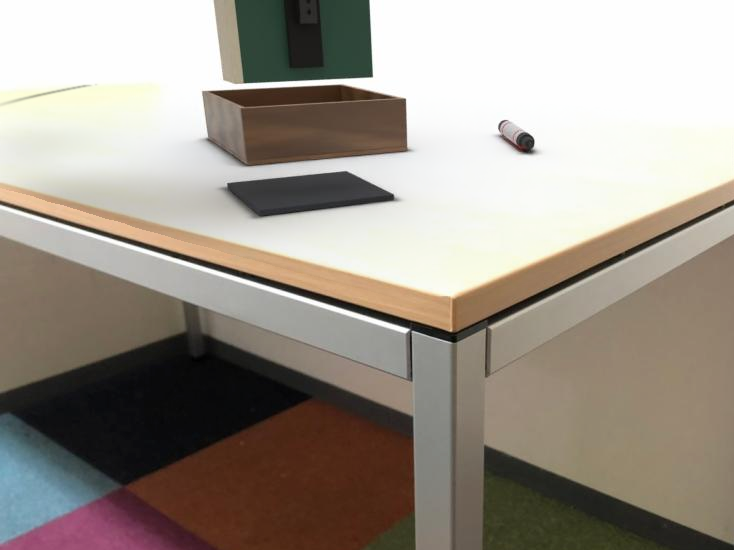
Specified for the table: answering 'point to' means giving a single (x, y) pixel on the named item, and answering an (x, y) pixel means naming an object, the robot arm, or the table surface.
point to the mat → (307, 192)
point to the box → (304, 122)
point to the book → (270, 47)
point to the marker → (516, 135)
